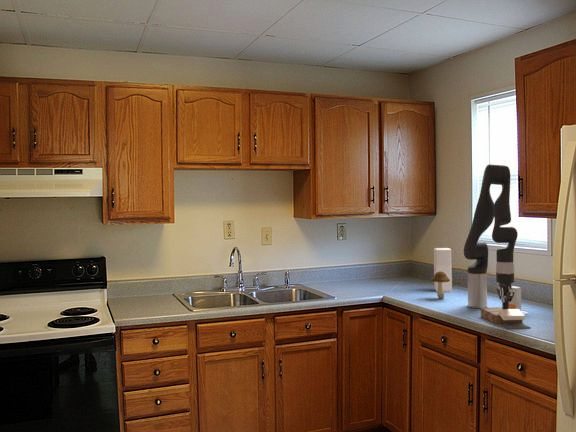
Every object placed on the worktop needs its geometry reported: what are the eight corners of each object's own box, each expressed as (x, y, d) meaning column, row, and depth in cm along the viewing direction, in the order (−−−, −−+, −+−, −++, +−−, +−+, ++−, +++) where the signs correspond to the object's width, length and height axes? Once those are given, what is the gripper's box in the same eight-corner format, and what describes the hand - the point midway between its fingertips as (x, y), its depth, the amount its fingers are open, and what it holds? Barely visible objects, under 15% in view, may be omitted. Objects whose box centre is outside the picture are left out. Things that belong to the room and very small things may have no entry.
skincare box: (505, 311, 268) (504, 286, 268) (510, 309, 271) (510, 285, 270) (516, 313, 263) (516, 288, 263) (521, 311, 266) (521, 287, 265)
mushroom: (437, 296, 311) (437, 269, 310) (454, 299, 301) (453, 271, 301) (426, 298, 306) (426, 271, 305) (442, 301, 296) (442, 273, 296)
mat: (498, 324, 242) (498, 323, 241) (520, 323, 242) (520, 322, 242) (507, 329, 233) (507, 328, 233) (530, 328, 234) (530, 327, 234)
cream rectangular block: (498, 313, 243) (498, 309, 242) (518, 312, 243) (519, 308, 242) (503, 320, 237) (504, 316, 237) (524, 319, 237) (524, 315, 237)
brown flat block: (481, 316, 258) (480, 307, 258) (505, 315, 259) (505, 307, 259) (496, 324, 242) (496, 315, 242) (522, 323, 243) (522, 314, 243)
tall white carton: (436, 291, 324) (436, 249, 323) (434, 289, 333) (433, 248, 332) (452, 291, 323) (451, 249, 322) (449, 289, 332) (448, 247, 331)
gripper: (490, 270, 251) (490, 307, 252) (503, 274, 238) (504, 313, 239) (506, 269, 252) (506, 307, 253) (520, 273, 239) (520, 313, 239)
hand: (505, 310), depth 246 cm, fingers closed
